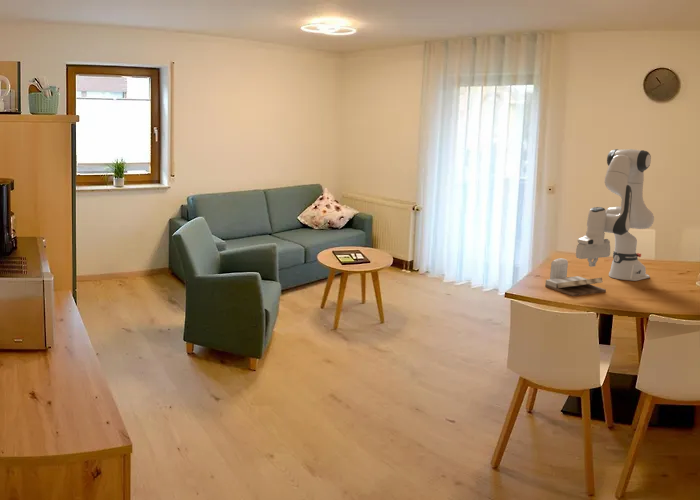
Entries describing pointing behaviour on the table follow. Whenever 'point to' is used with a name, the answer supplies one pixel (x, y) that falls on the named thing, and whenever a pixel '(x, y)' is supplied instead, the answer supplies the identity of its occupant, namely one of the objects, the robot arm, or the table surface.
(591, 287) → the floor section
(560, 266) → the grey arched block
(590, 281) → the plank
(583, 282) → the plank
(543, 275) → the table surface
